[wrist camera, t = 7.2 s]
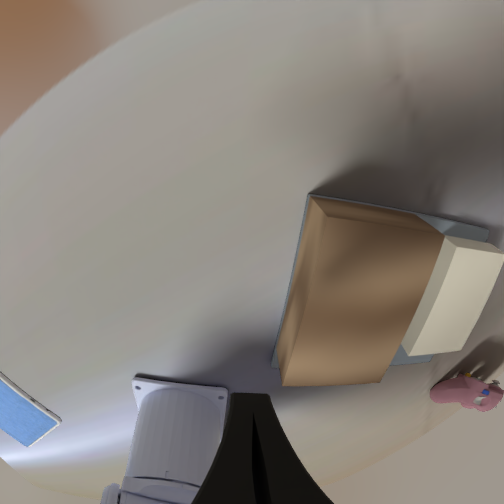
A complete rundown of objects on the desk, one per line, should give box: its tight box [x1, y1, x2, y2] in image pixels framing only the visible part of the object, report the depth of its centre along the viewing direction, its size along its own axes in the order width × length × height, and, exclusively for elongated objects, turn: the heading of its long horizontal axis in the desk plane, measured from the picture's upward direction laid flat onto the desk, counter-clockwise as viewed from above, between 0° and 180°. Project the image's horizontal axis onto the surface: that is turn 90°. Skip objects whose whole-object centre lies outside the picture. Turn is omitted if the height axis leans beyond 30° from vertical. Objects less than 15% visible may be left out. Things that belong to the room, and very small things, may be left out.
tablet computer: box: [0, 372, 62, 447], centre depth 27 cm, size 19×13×1 cm, turn 132°
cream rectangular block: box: [401, 235, 504, 356], centre depth 19 cm, size 9×6×2 cm, turn 173°
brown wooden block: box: [276, 196, 445, 386], centre depth 18 cm, size 11×7×4 cm, turn 173°
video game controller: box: [430, 373, 504, 412], centre depth 24 cm, size 10×5×7 cm, turn 61°
